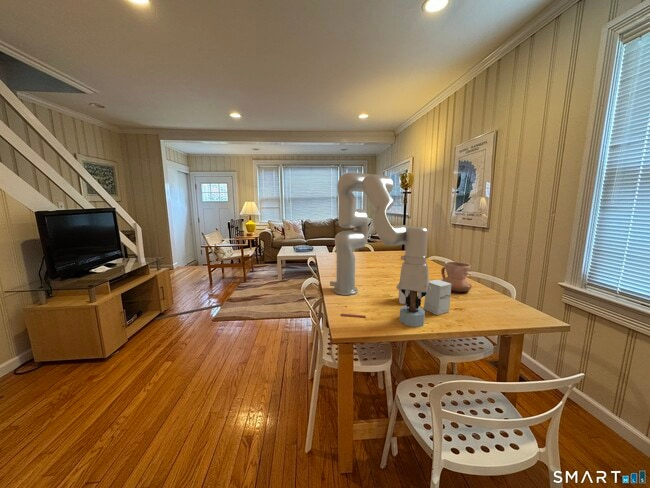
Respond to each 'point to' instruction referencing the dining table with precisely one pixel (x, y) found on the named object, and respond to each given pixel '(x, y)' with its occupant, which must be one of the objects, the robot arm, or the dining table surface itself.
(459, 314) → the dining table surface
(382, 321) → the dining table surface
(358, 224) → the robot arm
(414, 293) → the needle
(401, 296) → the medicine bottle
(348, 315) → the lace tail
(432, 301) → the supplement box
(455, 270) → the ceramic jug
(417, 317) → the bead
